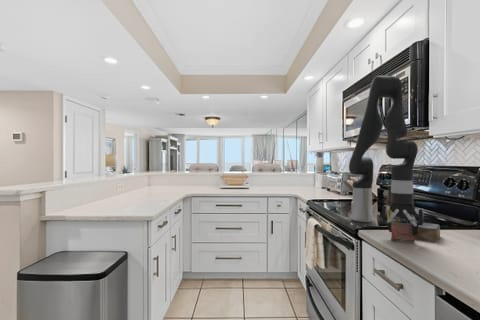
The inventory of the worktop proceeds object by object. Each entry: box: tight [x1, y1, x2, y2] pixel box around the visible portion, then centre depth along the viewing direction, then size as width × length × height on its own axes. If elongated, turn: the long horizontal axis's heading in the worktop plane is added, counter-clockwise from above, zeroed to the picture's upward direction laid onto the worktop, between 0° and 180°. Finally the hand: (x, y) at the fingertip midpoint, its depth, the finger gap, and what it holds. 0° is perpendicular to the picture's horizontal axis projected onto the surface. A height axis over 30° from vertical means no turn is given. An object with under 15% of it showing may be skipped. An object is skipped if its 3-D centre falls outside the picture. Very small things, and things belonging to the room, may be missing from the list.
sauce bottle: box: [385, 184, 400, 227], centre depth 126 cm, size 6×6×20 cm
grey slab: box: [414, 222, 441, 243], centre depth 110 cm, size 10×10×5 cm
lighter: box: [390, 216, 416, 244], centre depth 104 cm, size 8×3×10 cm, turn 75°
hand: (402, 233), depth 104 cm, fingers closed on lighter, 7 cm apart
